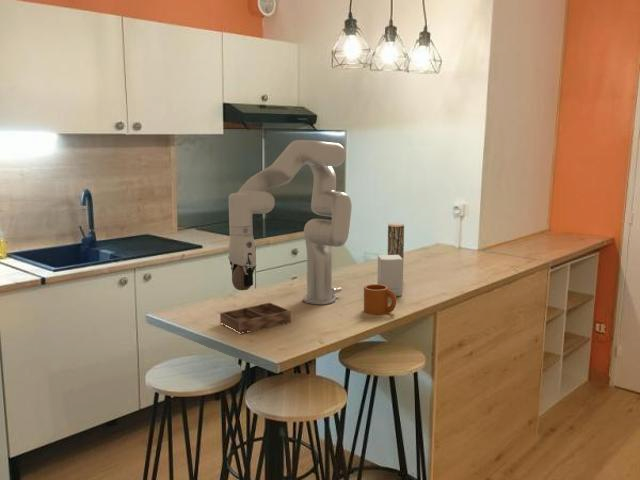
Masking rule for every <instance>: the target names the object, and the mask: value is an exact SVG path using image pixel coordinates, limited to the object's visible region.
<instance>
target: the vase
mask: <svg viewBox="0 0 640 480" xmlns="http://www.w3.org/2000/svg"><path fill="white" fill-rule="evenodd" d="M246 268H247V270H248V268H249V267H246ZM244 275H245V273H244V269H243V266H240V265H237V267H236V268H235V270H234V271H233V274H232V273H231V283H232V286H233V287H234V288H235V289H236V290H237V291H246V290H249V289H250V288H251V287H252V286H247V287H245V286H244Z"/></svg>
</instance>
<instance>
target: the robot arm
mask: <svg viewBox="0 0 640 480" xmlns="http://www.w3.org/2000/svg"><path fill="white" fill-rule="evenodd" d="M346 155H347V154H346V150H345V147H344V146H343V145H342V144H340V143H338V142H330V141H329V142H328V141H322V140H311V139H298V140H297V139H295V140H293V141H292V142H290V143H289V144H288V145H287V146H286V148H285V149H284V150H283V152H281V153H280V155H279V156H278V157H277V158H276V159H275V161H274V162H273V163H272V164H271V165H269V166H268V167H266V168H264V169H262V170H261V171H259V172H258V173H256V174H254V175H252V176H251V177H250V178H248V179H247V180H246V181H245V182H244V184H243V185H241V187H240V188H239V189H238V191H237V192H233V193H230V194H229V196H228V221H229V222H228V224H229V227H228V228H229V245H228V246H229V248H228V252H229V253H228V254H229V255H228V257H227V259H228V261H229V265H230V269H231V275H232V274H233V271H234V270H235V268H236V267H237V265H240V266H243V269H244V273H245V275H244V286H245V287H247V286H251V287H252V286H253V285H254V274H255V270H256V268H257V253H256V242H255V238H254V234H253V233H254V231H253V228H254V227H253V214H254V215H255V214H256V215H257V214H260V215H263V214H268V213H269V212H271V211H272V210H273V209H274V207H275V204H276V202H275V197H274V196H273V194H272V193H270V192H268V190H270V189H271V190H272V189H273V188H277V187H280V186H284V185H287V184H288V183H290V182H291V181H292V180H293V179H294V178H295V176H296V175H297V173H299V171H300V170H301V169H302V168H303V167H304V166H305V165H308V167H310V169H311V172H312V174H313V187H312V193H311V201H310V202H311V203H310V208H311V211H312V213H314V214H316V215H318V216H321V217H331V220H330V219H323V218H312V219H310V220H308V221H307V222H306V223H305V225H304V229H303V236H304V241H305V246H306V247H305V248H306V288H307V289H306V294H305V295H304V296H303V297H302V300H303V302H305V303H307V304H309V303H310V305H329V304H333V303H334V302H336V300H337V297H336V295H335V294H337V293H341V292H342V287H340V286H339V287H334V286H333V271H332V270H333V268H332V267H333V255H332V251H331V249H330V247H335V248H340V247H344V245H345V244H346V243H347V240H348V238H349V234H350V223H351V218H352V210H353V209H352V201H351V198H350V196H349V195H348V194H347V193H345V192H343V191H337V190H336V189H337V187H336V186H337V175H336V172H335V169H334V168H336V167H340V166H341V165H342V164H344V162H345V160H346ZM246 267H248V270H247V268H246Z"/></svg>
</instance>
